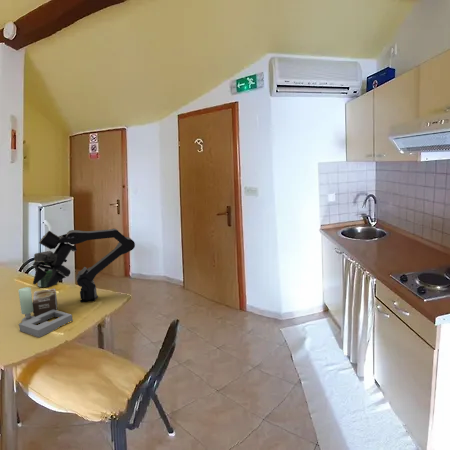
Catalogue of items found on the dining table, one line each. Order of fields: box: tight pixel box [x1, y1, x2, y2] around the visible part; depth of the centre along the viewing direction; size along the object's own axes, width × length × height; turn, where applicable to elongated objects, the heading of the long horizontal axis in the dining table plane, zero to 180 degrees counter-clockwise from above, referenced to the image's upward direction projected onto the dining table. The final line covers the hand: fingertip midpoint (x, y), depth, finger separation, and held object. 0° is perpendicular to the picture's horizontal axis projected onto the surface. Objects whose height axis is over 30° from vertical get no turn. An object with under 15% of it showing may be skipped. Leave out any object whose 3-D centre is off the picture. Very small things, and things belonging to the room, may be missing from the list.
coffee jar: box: [33, 250, 59, 288], centre depth 183 cm, size 10×8×19 cm
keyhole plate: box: [18, 309, 74, 338], centre depth 138 cm, size 15×12×3 cm
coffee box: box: [32, 288, 58, 317], centre depth 154 cm, size 9×6×16 cm
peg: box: [18, 286, 34, 323], centre depth 142 cm, size 5×5×14 cm
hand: (40, 285), depth 147 cm, fingers open, 9 cm apart
